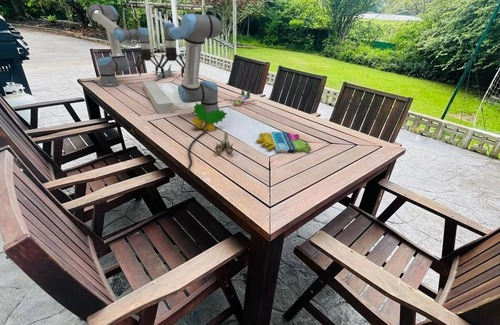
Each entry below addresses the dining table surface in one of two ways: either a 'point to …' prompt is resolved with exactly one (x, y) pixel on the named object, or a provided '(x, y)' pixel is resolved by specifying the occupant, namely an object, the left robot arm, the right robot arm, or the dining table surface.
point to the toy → (241, 99)
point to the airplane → (166, 73)
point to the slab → (157, 97)
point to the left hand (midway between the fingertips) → (148, 75)
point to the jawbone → (224, 145)
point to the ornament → (207, 117)
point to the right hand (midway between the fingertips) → (173, 77)
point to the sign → (283, 142)
